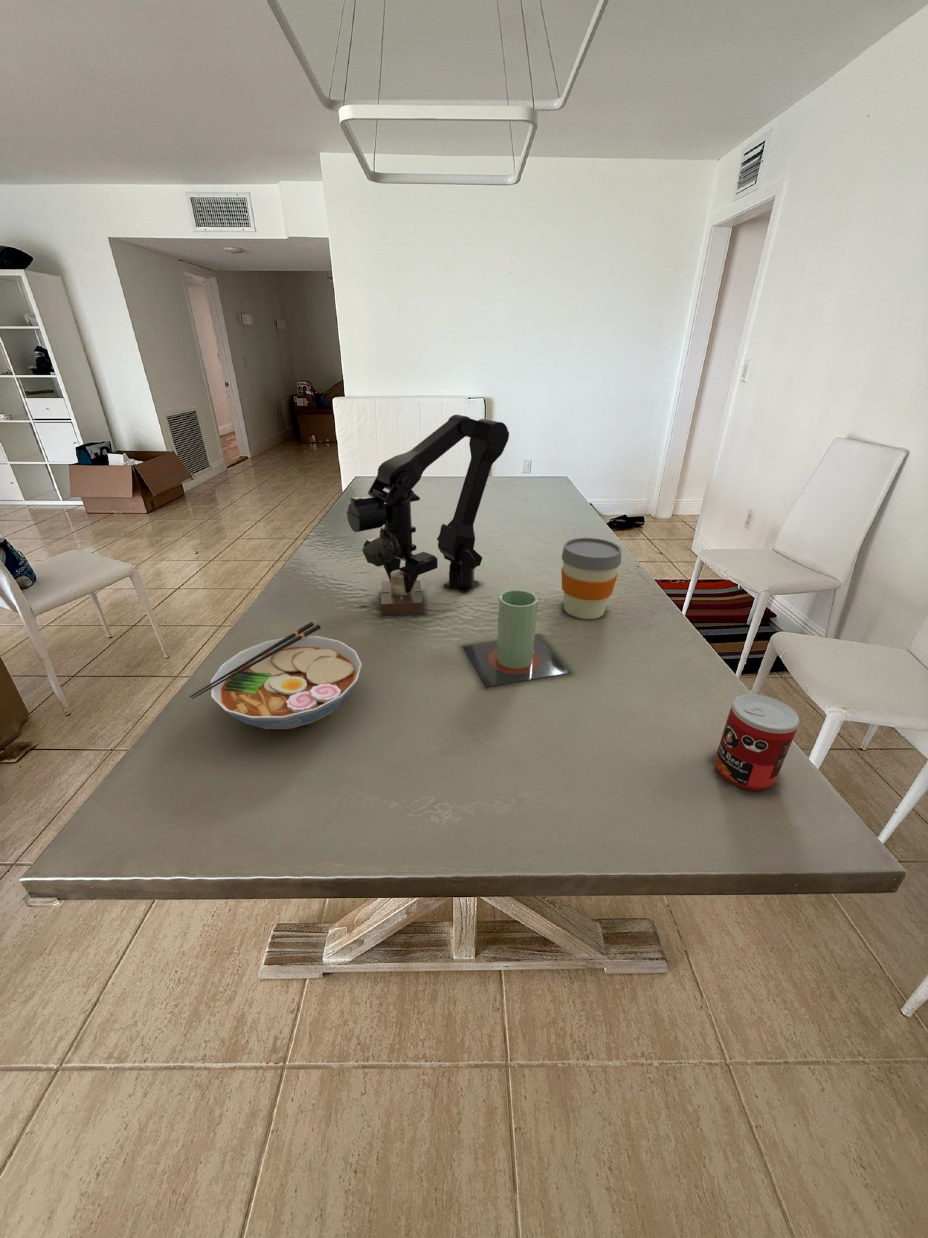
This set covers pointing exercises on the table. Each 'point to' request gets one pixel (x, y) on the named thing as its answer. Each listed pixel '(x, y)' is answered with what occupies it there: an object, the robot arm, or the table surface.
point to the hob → (499, 675)
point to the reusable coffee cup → (589, 575)
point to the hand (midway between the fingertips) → (401, 589)
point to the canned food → (755, 741)
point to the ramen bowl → (286, 680)
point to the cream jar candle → (398, 583)
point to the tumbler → (516, 628)
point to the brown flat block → (401, 601)
